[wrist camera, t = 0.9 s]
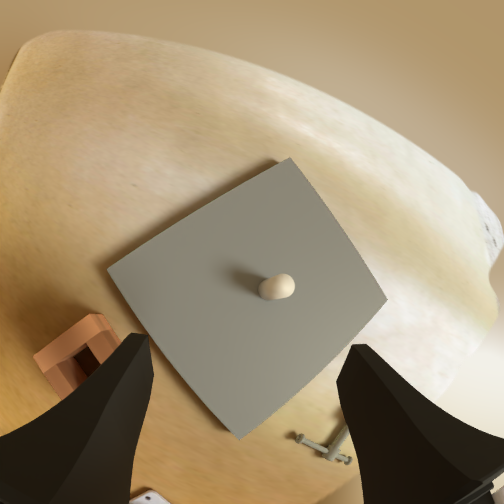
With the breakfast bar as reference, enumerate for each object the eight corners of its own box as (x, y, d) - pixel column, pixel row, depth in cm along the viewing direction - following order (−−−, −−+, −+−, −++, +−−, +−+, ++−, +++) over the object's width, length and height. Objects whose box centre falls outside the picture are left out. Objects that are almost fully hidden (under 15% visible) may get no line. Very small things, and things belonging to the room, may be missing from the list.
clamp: (437, 409, 24) (392, 484, 21) (423, 407, 26) (380, 478, 23) (362, 350, 23) (298, 448, 19) (347, 349, 25) (288, 439, 22)
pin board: (234, 433, 20) (250, 456, 16) (110, 272, 20) (97, 261, 16) (377, 301, 26) (409, 296, 22) (283, 164, 27) (304, 139, 22)
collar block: (93, 408, 17) (81, 425, 14) (53, 350, 17) (32, 356, 14) (144, 373, 19) (140, 385, 16) (102, 314, 19) (89, 313, 16)
